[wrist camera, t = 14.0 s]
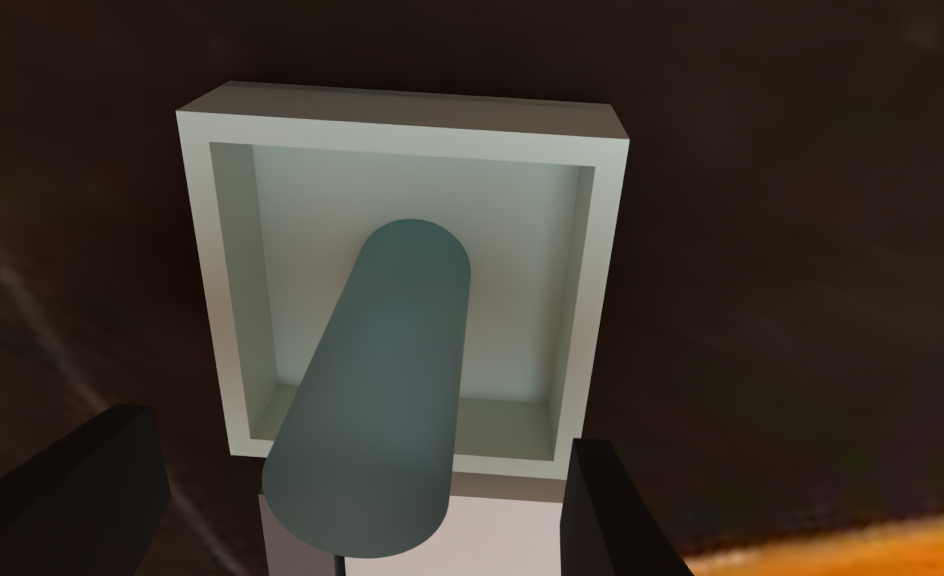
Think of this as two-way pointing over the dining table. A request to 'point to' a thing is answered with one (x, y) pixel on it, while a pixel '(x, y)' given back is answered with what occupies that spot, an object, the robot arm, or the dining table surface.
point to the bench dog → (294, 550)
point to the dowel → (378, 402)
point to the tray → (396, 198)
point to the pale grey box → (485, 532)
